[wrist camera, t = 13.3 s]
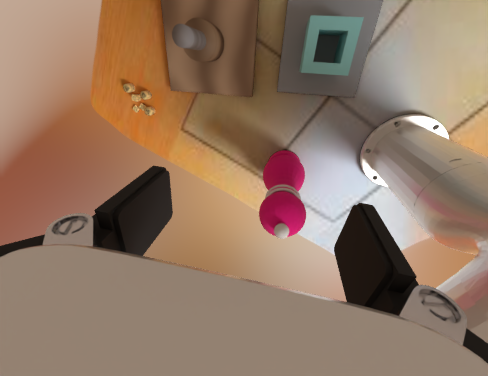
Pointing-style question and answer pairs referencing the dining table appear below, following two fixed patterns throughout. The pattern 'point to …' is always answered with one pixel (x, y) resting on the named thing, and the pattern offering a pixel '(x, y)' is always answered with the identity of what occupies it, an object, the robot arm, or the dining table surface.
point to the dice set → (137, 97)
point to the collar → (345, 49)
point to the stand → (211, 45)
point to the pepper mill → (283, 195)
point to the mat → (324, 46)
